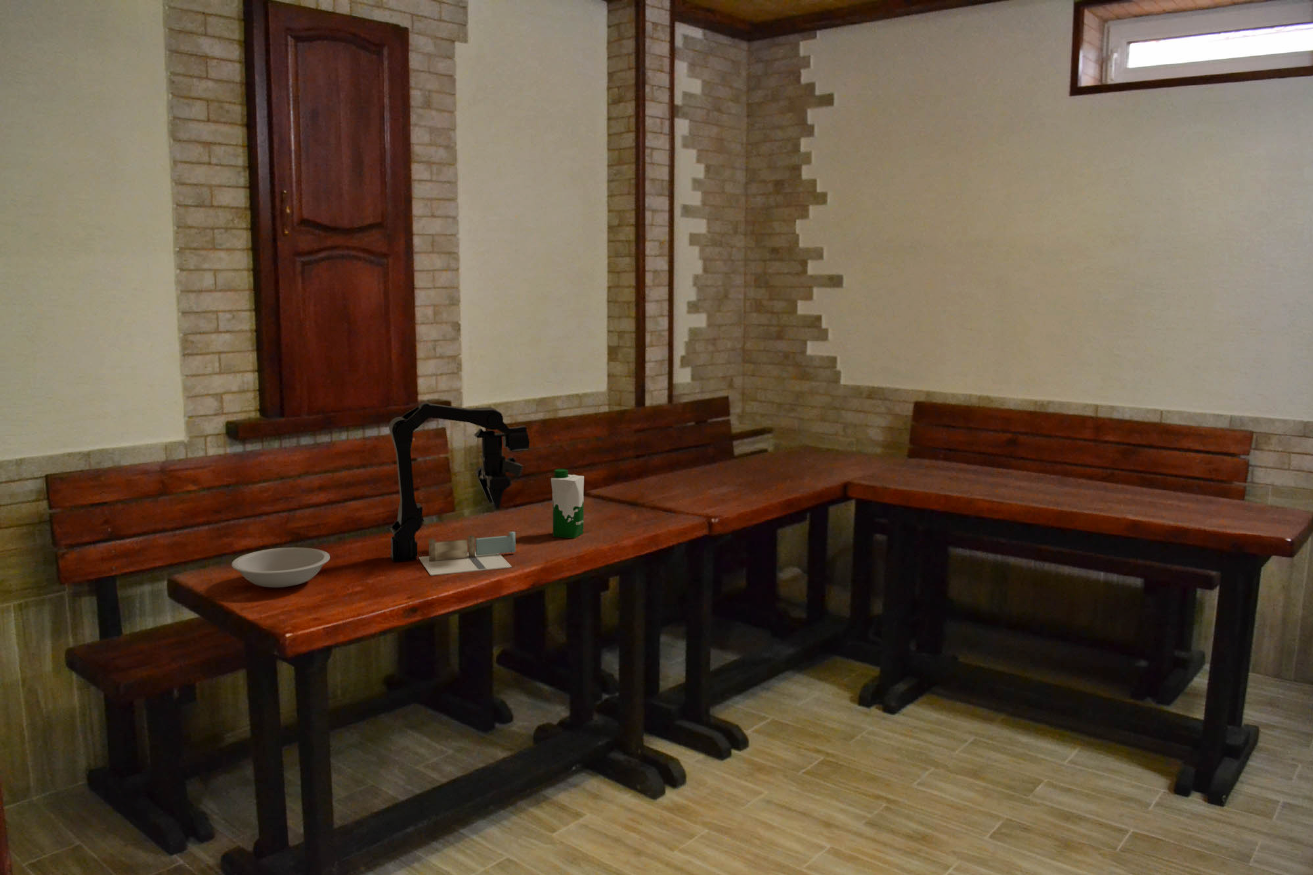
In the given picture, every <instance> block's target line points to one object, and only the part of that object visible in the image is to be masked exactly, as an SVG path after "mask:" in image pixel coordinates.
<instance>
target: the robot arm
mask: <svg viewBox="0 0 1313 875" xmlns="http://www.w3.org/2000/svg"><path fill="white" fill-rule="evenodd" d="M429 418H431V419H438V420H444V421H445V420H446V421H454V422H460V423H461V422H462V423H468V424H472V425H476V426H477V427H478V426H479V429H478V430H477V431H476V432H475V433H474V434H473V436H474V437H475V438H476V439H481V452H482V453H481V454H480V459H481V460H482V465H481V466H478V467H477V468H476V469H475V476H476V477H477V480H478V482H479V485H480V486H481V489H482V491H483V493H484V495H485V497H486V500H487V502H488V503H489V504H493V506H494V509H496V510H498V509H500V507H501V504H502V498H503V495H504V492H505V490H507V489H508V488H510V487H512V478H511V477H510V476H509V475H507V473H508V474H513V475H515V476H516V477H521V475H522V472H523V468H524V465H522V463H519V462H517V460H516V458H515V457H512V456H508V458H507V459H506V456H504V455H503V448H504V449H505V448H506V449H507V451H508V452H510V451H511V452H513V451H514V452H515V451H526V450H527V451H528V450H529V448H530V438H529V433H528V430H527V429H528V428H527V426H525V425H520V426H513V427H509V426H508V425H507V424H506V423H505V422H504V416H503V414H502V413H501V412H500V411H499V410H497V409H495V408H494V407H491V406H488V407H487V406H486V407H484V406H483V407H474V408H467V407H457V406H451V405H443V404H437V403H430V402H429V401H424V402H421V403H420V404H418V405H417V406H416V407H415V408H412V409H411V410H409V411H407V412H406V413H405V414H403V415H402V416H397V417H394V418H393V419H391V421H390V422H389V424H388V430H389V433H390V437H391V440H392V444H393V447H394V449H395V456H396V457H395V458H396V467H397V478H398V490H399V499H400V500H399V504H398V508H397V509H398V510H397V511H398V512H397V520H396V521H395V522H394V523H393V524H392V525H391V526H390V529H389V530H390V531H391V534H392V535H393V536H390V550H391V553H390V555H389V556H390V559H391V561H392V562H393V563H396V562H397V563H399V562H400V563H401V562H409V561H417V560H418V555H419V554H418V552H419V551H418V542H417V540H416V537H415V536H416V533H417V532H419V531H420V530H421V528H422V525H423V522H425V519H424V517H423V510H424V509H423V506H422V504H421V503H420V502H416V498H415V487H414V485H415V484H414V477H413V465H412V455H411V454H412V453H411V450H412V445H413V439H414V438H413V437H414V431H416V430H417V429H419V427H421V426H422V425H423V423H425V422H426V421H427V420H428V419H429ZM481 427H482V428H484V429H488V430H483V429H482V428H481ZM496 430H497V431H499V432H495V431H496Z"/></svg>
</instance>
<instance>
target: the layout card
mask: <svg viewBox="0 0 1313 875" xmlns="http://www.w3.org/2000/svg"><path fill="white" fill-rule="evenodd" d="M418 559H419V561H420V563H421V564H422V565H423V567H424V568H425V570H426V571H427V572H428V574H429V576H431V577H432V576H443V575H452V574H463V573H471V572H481V571H490V570H501V569H511V568H512V565H511V564H510V563H509V562H508V561H507V560H506V559H505V558H504V557H503V556H502V555H501V553H498V554H488V555H476V551H475V557H469V554H468V558H457V559H447V560H437V561H429V555H427V556H426V555H425V556H419V557H418Z"/></svg>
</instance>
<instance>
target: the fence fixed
mask: <svg viewBox="0 0 1313 875" xmlns="http://www.w3.org/2000/svg"><path fill="white" fill-rule="evenodd" d="M475 552H476V538H475V535H473V534H471V535H468V536H467V539H457V540H447V541H436V539H435V538H429V539H428V556H429V561H437V560H447V559H457V558H468V554H469V557H475Z"/></svg>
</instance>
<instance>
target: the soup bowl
mask: <svg viewBox="0 0 1313 875" xmlns="http://www.w3.org/2000/svg"><path fill="white" fill-rule="evenodd" d="M330 559H331V556H330V553H328V552H326V551H325V550H322V549H318V548H317V549H316V548H313V547H312V548H310V547H279V548H278V547H277V548H269V549H262V550H258V551H253V552H250V553H245V554H243V555H241V556H238V557H237V558H235V559H234V560H233V561H232V562H231V567H232V568H233V569H234V570H235V571H238V572H239V573H240V574H241V576H242V577H244V578H245V579H246V580H247V581H249V583H252V584H253V585H256V586H259V587H264V588H265V587H266V588H286V587H292V586H297V585H300V584H304V583H306V582H308V581H309V580H311V579H313V578H314V577H316V575H317V574H318V573H319V572H320V571H321V569H322V568H323V565H325V564H326V563H328V562H329V561H330Z"/></svg>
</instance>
